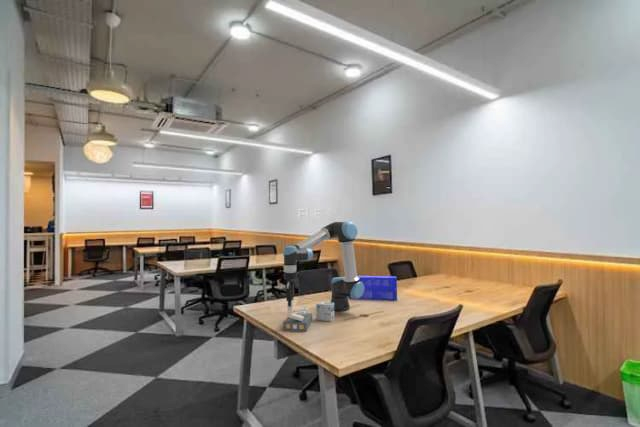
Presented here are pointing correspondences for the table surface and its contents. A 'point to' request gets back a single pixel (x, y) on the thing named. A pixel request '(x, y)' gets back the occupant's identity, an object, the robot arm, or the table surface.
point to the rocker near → (296, 316)
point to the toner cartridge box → (379, 287)
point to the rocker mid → (300, 312)
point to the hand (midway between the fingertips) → (289, 311)
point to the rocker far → (301, 309)
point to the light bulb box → (325, 311)
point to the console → (297, 323)
